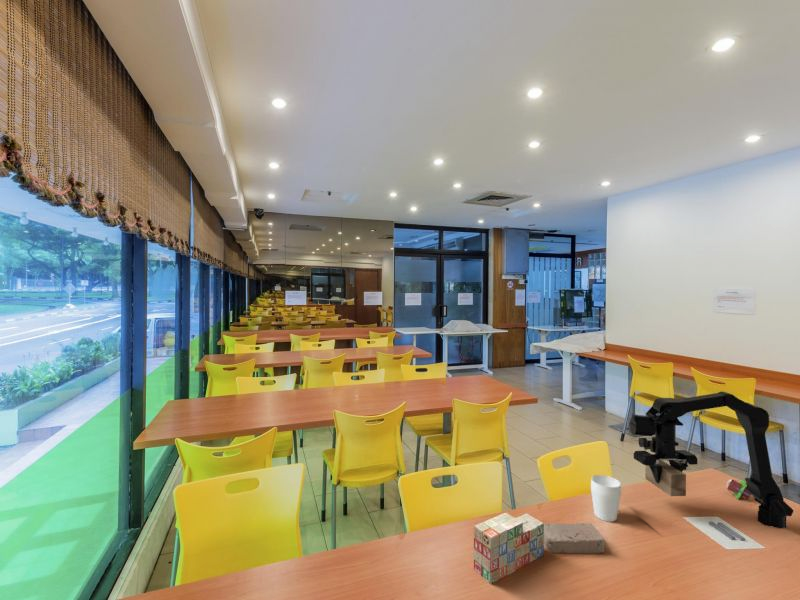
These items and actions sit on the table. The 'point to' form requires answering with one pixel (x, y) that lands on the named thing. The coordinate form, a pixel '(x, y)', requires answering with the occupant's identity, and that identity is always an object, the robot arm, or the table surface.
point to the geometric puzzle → (738, 489)
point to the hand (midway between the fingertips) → (664, 482)
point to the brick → (573, 538)
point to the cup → (605, 497)
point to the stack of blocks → (506, 545)
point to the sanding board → (720, 538)
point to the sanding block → (668, 480)
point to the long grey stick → (731, 531)
